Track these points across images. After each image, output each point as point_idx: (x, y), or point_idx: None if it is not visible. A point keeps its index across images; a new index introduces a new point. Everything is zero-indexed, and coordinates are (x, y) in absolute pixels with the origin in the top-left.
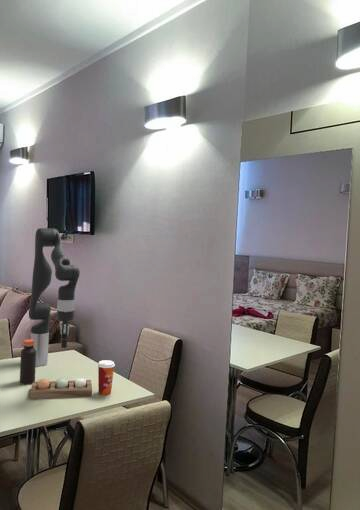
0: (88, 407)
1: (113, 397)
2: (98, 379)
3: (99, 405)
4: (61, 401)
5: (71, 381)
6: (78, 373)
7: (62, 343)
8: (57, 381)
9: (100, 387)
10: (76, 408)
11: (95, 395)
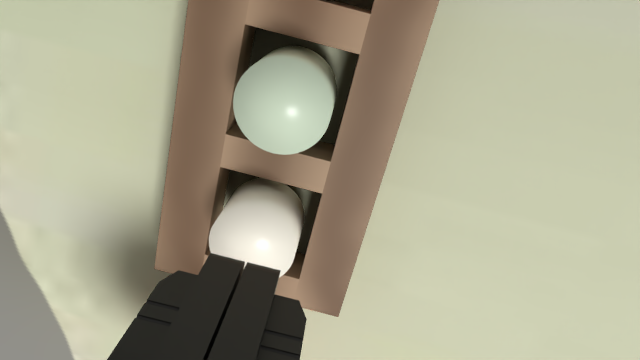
0: (13, 178)
1: None
2: None
3: (33, 241)
4: (133, 42)
5: (360, 188)
6: (630, 293)
7: (182, 320)
8: (265, 59)
9: None
10: (7, 108)
11: None
